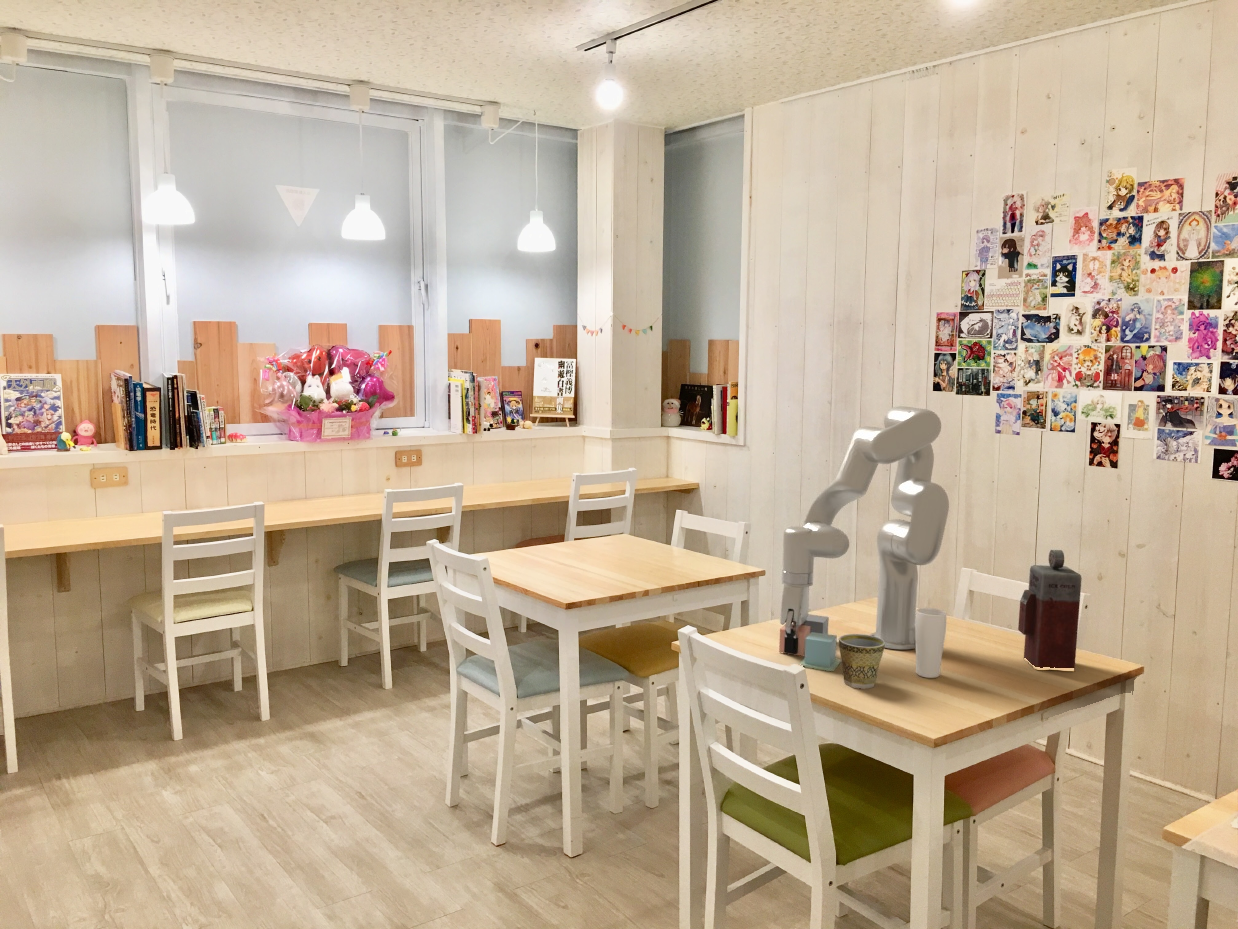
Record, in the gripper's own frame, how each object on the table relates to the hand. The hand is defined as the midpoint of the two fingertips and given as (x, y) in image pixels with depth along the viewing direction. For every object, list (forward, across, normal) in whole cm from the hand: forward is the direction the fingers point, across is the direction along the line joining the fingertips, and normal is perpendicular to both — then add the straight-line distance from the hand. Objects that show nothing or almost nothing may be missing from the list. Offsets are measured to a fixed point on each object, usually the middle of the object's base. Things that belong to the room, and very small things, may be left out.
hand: (794, 648), depth 244 cm
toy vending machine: (+1, -18, +56) cm, 59 cm away
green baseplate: (+1, +7, +8) cm, 11 cm away
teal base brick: (0, +7, +8) cm, 11 cm away
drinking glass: (+1, +3, +32) cm, 32 cm away
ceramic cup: (+1, +15, +19) cm, 24 cm away
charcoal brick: (+1, -11, +2) cm, 11 cm away
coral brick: (+1, 0, 0) cm, 1 cm away
